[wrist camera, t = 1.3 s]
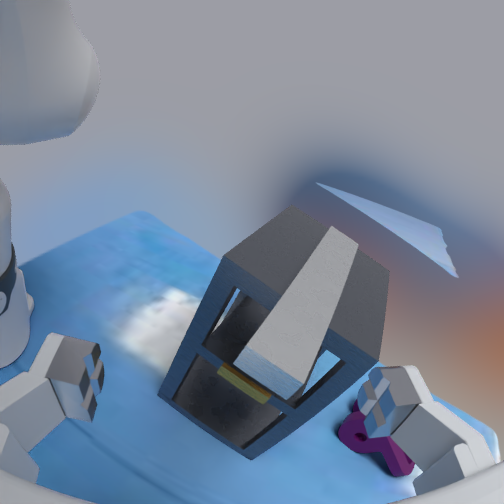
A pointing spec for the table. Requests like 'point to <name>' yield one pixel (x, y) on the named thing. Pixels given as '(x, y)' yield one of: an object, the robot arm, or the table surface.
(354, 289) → the rack
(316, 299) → the strip
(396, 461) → the mounting bracket
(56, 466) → the table surface
